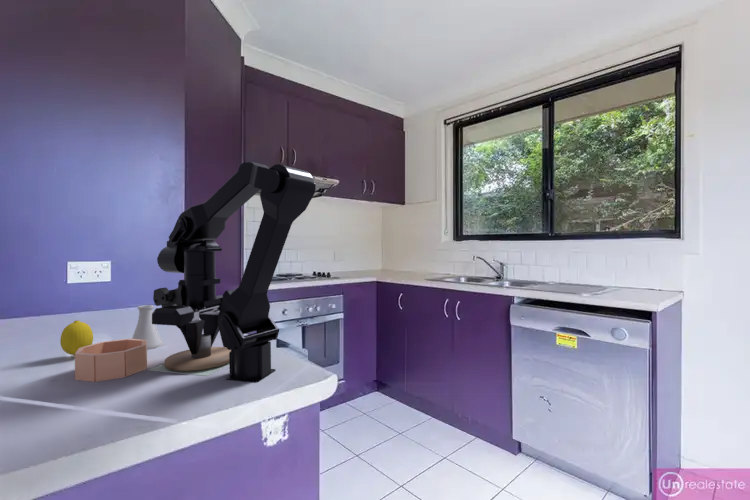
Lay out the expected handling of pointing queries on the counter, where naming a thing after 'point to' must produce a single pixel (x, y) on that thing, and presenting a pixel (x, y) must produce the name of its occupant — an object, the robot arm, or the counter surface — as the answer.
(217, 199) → the robot arm
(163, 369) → the mat
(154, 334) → the flask
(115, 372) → the bowl
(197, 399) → the counter surface
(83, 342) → the lemon
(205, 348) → the lid
